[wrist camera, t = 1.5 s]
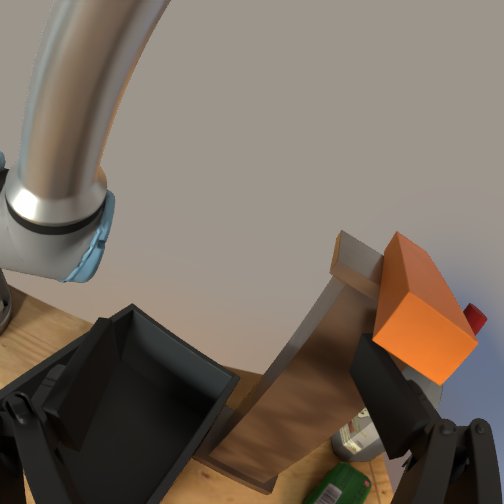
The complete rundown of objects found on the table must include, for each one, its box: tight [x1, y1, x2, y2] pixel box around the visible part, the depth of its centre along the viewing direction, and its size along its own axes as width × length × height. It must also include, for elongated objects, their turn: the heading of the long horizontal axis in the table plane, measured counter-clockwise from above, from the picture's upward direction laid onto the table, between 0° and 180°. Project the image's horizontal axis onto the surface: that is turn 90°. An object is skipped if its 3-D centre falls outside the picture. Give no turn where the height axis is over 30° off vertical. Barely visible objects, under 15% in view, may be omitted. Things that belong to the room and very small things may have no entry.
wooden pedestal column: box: [192, 230, 408, 495], centre depth 27 cm, size 11×10×30 cm
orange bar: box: [372, 232, 478, 386], centre depth 18 cm, size 4×20×2 cm, turn 150°
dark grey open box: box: [0, 304, 240, 504], centre depth 24 cm, size 16×24×11 cm, turn 159°
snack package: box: [302, 462, 371, 504], centre depth 26 cm, size 7×16×5 cm, turn 137°
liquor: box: [331, 303, 487, 462], centre depth 35 cm, size 9×9×30 cm
